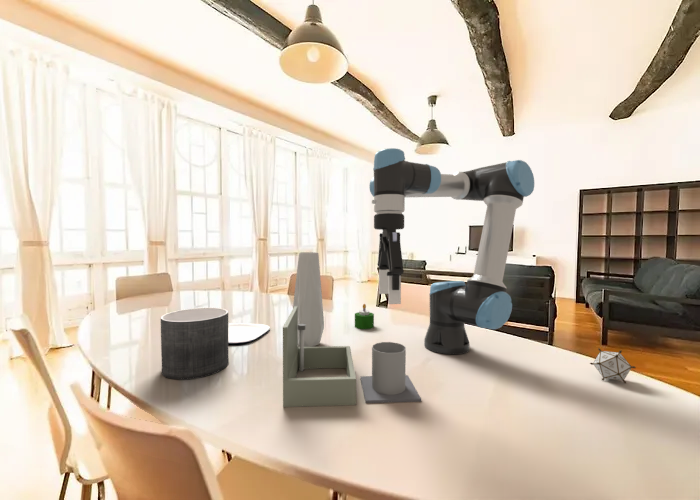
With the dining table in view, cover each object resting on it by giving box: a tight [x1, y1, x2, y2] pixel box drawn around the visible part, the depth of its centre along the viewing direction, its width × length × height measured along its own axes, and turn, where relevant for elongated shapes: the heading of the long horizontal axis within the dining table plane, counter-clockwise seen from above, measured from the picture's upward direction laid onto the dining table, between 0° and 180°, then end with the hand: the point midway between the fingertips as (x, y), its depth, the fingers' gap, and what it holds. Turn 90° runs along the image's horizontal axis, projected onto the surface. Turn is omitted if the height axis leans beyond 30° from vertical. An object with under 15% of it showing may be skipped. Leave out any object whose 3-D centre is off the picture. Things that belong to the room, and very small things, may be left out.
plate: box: [228, 322, 271, 345], centre depth 126 cm, size 25×25×2 cm
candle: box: [354, 303, 375, 330], centre depth 138 cm, size 8×8×10 cm
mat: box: [359, 374, 422, 404], centre depth 80 cm, size 13×13×1 cm
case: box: [282, 306, 357, 408], centre depth 83 cm, size 16×22×18 cm
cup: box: [371, 341, 407, 395], centre depth 80 cm, size 8×8×10 cm
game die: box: [589, 347, 636, 384], centre depth 86 cm, size 9×8×10 cm
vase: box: [292, 251, 325, 347], centre depth 114 cm, size 12×12×33 cm
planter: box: [160, 307, 230, 380], centre depth 94 cm, size 18×18×16 cm
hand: (388, 298), depth 80 cm, fingers open, 13 cm apart
